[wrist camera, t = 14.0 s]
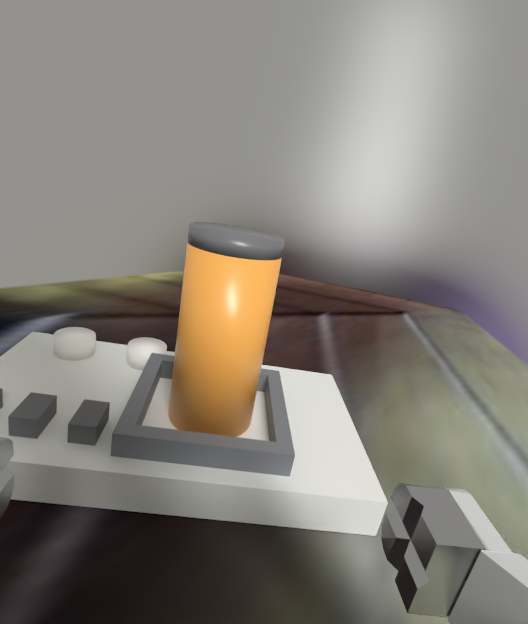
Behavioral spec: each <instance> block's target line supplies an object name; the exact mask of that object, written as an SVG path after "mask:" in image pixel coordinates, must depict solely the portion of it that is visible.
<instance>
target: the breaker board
mask: <svg viewBox="0 0 528 624" xmlns="http://www.w3.org/2000/svg"><path fill="white" fill-rule="evenodd" d="M166 350H167V345H166V344H165V343H164V342H163V341H161V340H159V339H155V338H148V337H141V338H135V339H133V340H131V341H129V343H128V345H122V344H115V343H108V342H101V341H96V334H95V332H94V331H92V330H90V329H87V328H82V327H68V328H62V329H59V330H57V331H56V332H55V333H54V335H53V334H46V333H39V332H31V333H30V334H29V335H28V336H26V337H25V338H24V339H22V340H21V341H20V342H19V343H17V344H16V345H15V346H13V347H12V348H11V349H10V350H8V351H7V352H6V353H4V354H3V355H2V356H1V357H0V437H4V438H9V439H10V440H11V441H13V451H14V456H13V457H12V458H11V460H10V461H9V462H8V463H7V465H8V467H9V468H10V469H11V470H12V472H13V473H14V487H13V492H12V497H11V499H13V500H23V501H33V502H43V503H53V504H63V505H73V506H83V507H93V508H103V509H113V510H123V511H133V512H143V513H153V514H163V515H173V516H183V517H192V518H202V519H212V520H222V521H232V522H242V523H252V524H262V525H272V526H282V527H292V528H302V529H312V530H322V531H332V532H342V533H352V534H362V535H372V536H376V534H377V531H378V528H379V526H380V523H381V520H382V517H383V515H384V512H385V509H386V506H387V504H388V502H387V500H386V497H385V495H384V493H383V491H382V488H381V486H380V484H379V481H378V479H377V477H376V475H375V472H374V470H373V468H372V465H371V463H370V461H369V459H368V456H367V454H366V452H365V449H364V447H363V445H362V443H361V440H360V438H359V436H358V434H357V431H356V429H355V427H354V424H353V422H352V420H351V418H350V415H349V413H348V411H347V408H346V406H345V404H344V402H343V399H342V397H341V395H340V392H339V390H338V388H337V386H336V383H335V381H334V379H333V376H332V375H329V374H322V373H315V372H308V371H301V370H294V369H287V368H280V367H273V366H267V365H262V366H261V372H260V377H259V382H258V388H257V393H256V398H255V404H254V409H253V414H252V420H251V424H250V426H249V428H248V429H247V431H245V432H244V433H243V434H241V435H240V436H237V437H231V436H223V435H215V434H207V433H199V432H191V431H183V430H178V429H177V428H175V427H174V426H173V424H172V423H171V421H170V420H169V416H168V411H169V402H170V393H171V385H172V376H173V367H174V358H175V352H170V351H166Z"/></svg>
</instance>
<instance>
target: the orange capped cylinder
mask: <svg viewBox="0 0 528 624" xmlns="http://www.w3.org/2000/svg"><path fill="white" fill-rule="evenodd" d="M284 243H285V239H284V238H282V237H280V236H277V235H274V234H271V233H267V232H264V231H260V230H255V229H251V228H245V227H240V226H234V225H227V224H219V223H208V222H207V223H206V222H195V223H190V225H189V233H188V243H187V251H186V260H185V269H184V278H183V287H182V296H181V305H180V313H179V322H178V331H177V340H176V349H175V358H174V367H173V376H172V385H171V393H170V402H169V411H168V416H169V420H170V421H171V423H172V424H173V426H174V427H175V428H177V429H178V430H183V431H191V432H199V433H207V434H215V435H223V436H231V437H237V436H240V435H241V434H243V433H244V432H245V431H247V429H248V428H249V426H250V424H251V420H252V414H253V409H254V404H255V398H256V393H257V388H258V382H259V377H260V372H261V366H262V361H263V356H264V350H265V345H266V339H267V334H268V329H269V323H270V318H271V313H272V307H273V302H274V297H275V291H276V286H277V281H278V275H279V270H280V265H281V259H282V254H283V249H284Z"/></svg>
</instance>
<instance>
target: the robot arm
mask: <svg viewBox="0 0 528 624" xmlns="http://www.w3.org/2000/svg"><path fill="white" fill-rule="evenodd" d="M13 456H14V451H13V441H11V440H10V439H9V438H4V437H0V519H1V517H2V516H3V514H4V513H5V511H6V509H7V506H8V504H9V501H10V499H11V497H12V492H13V487H14V473H13V472H12V470H11V469H10V468H9V467H8V465H7V463H8V462H9V461H10V460H11V458H12V457H13ZM392 500H393V502H394V504H395V506H394V507H393V508H391V509H390V510H389V511H388V512H386V514H385V517H384V520H383V523H382V544H383V549H384V552H385V555H386V557H387V560H388V561H389V562H390V563H391V564H392V565H393V566H394V567H395V568H396V569H397V570H398V573H397V576H396V579H395V582H396V584H397V587H398V590H399V592H400V595H401V598H402V600H403V603H404V605H405V608H406V611H407V613H410V614H419V615H428V616H437V617H446V618H448V621H449V622H450V623H451V624H528V560H527V559H526V558H525V557H523V556H522V555H520V554H516V553H512V552H511V550H510V549H509V547H508V546H507V545H506V543H505V542H504V540H503V539H502V537H501V536H500V535H499V533H498V532H497V530H496V529H495V528H494V526H493V525H492V523H491V522H490V521H489V519H488V518H487V516H486V515H485V514H484V512H483V511H482V509H481V508H480V507H479V505H478V504H477V502H476V501H475V500H474V498H473V497H472V495H471V494H470V493H469V492H467V491H466V490H464V489H455V488H444V487H442V488H439V487H430V486H420V485H411V484H402V483H399V484H398V485H397V486H396V487H395V489H394V492H393V494H392Z"/></svg>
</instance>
